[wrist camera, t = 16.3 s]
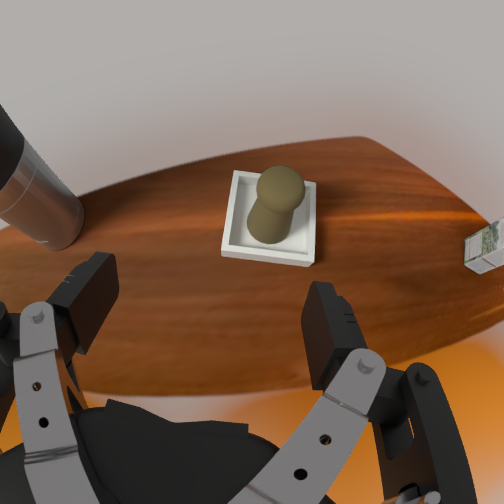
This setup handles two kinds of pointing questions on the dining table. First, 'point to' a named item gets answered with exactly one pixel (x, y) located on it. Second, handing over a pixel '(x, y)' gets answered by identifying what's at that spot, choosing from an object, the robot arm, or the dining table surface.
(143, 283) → the dining table surface
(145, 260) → the dining table surface
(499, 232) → the syrup box
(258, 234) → the cork
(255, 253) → the keeper tray
